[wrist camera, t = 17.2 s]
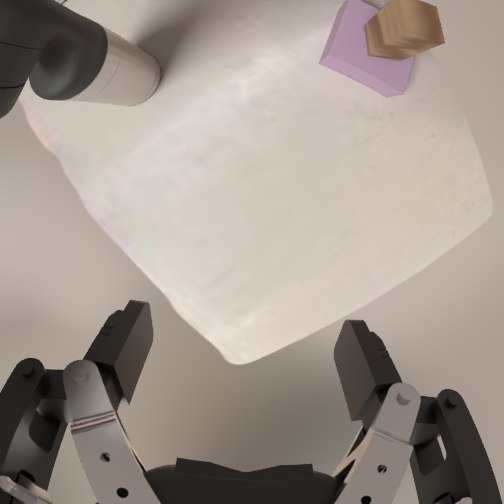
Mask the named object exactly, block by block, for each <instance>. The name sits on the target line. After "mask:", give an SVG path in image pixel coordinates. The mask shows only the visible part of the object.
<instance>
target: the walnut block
mask: <svg viewBox="0 0 504 504" xmlns="http://www.w3.org/2000/svg"><path fill="white" fill-rule="evenodd" d="M364 31H365V37H366V44H367V52H368V56H373V57H379V58H385V59H390V60H395V61H402V60H404V59H406V58H409V57H411V56H413V55H416V54H418V53H420V52H423V51H425V50H428V49H430V48H433V47H436V46H438V45H441V44H443V43H445V41H444V36H443V32H442V27H441V23H440V19H439V15H438V11H437V8H436V6H433V5H430V4H428V3H425V2H422V1H419V0H391V1H389V2H388V3H387V4H386V5H385V6H384V7H383V8H382V9H381V10H380V11H379V12H378V13H377V14H376V15H375V16H374V17H373V18H371V19H370V20H369V21H368V22H367V23H366V24H365V25H364Z"/></svg>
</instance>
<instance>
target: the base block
mask: <svg viewBox="0 0 504 504" xmlns="http://www.w3.org/2000/svg"><path fill="white" fill-rule="evenodd" d="M379 11H380V10H378V9H376V8H375V7H373V6H371V5H369V4H367V3H365V2H363V1H361V0H346V1H345V3H344V4H343V5H342V6H341V8H340V9H339V11H338V14H337V17H336V19H335V22H334V25H333V27H332V30H331V33H330V35H329V38H328V41H327V43H326V46H325V49H324V51H323V54H322V57H321V59H320V62H319V64H321V65H323V66H325V67H328V68H330V69H332V70H334V71H337V72H339V73H341V74H343V75H345V76H347V77H349V78H351V79H353V80H355V81H357V82H359V83H361V84H363V85H365V86H367V87H369V88H371V89H373V90H375V91H376V92H378V93H380V94H382V95H383V96H385V97H391V96H397V95H403V94H404V92H405V89H406V85H407V82H408V79H409V75H410V72H411V68H412V65H413V61H414V57H415V55H413V56H411V57H409V58H406V59H404V60H402V61H395V60H390V59H385V58H379V57H373V56H368V52H367V44H366V37H365V31H364V25H365V24H366V23H367V22H368V21H369V20H370V19H371V18H373V17H374V16H375V15H376V14H377V13H378V12H379Z"/></svg>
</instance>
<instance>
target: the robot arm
mask: <svg viewBox="0 0 504 504" xmlns="http://www.w3.org/2000/svg"><path fill="white" fill-rule="evenodd" d="M28 77H29V81H30V85H31V87H32V89H33V91H34V92H35V93H36V94H37V95H38V96H39V97H41V98H43V99H47V100H64V101H83V102H95V103H105V104H113V105H122V106H135V105H138V104H141V103H142V102H144V101H146V100H147V99H148V98H149V97H151V95H152V94H153V93H154V92H155V90H156V89H157V87H158V84H159V82H160V77H161V70H160V66H159V64H158V62H157V61H156V59H154V58H153V57H152V56H151V55H149V54H148V53H146V52H145V51H143V50H142V49H140V48H138V47H137V46H135V45H134V44H132V43H131V42H129V41H127V40H126V39H124V38H122V37H121V36H119V35H117V34H116V33H114V32H112V31H110V30H108V29H107V28H105V27H103V26H101V25H100V24H98V23H96V22H94V21H92V20H90V19H88V18H86V17H84V16H81V15H79V14H77V13H75V12H73V11H72V10H70V9H68V8H66V7H65V6H63V5H61V4H59V3H58V2H56V1H54V0H0V118H2V117H3V116H5V115H6V114H8V113H9V111H10V110H11V109H12V108H13V106H14V104H15V103H16V101H17V99H18V97H19V95H20V93H21V91H22V89H23V87H24V85H25V83H26V81H27V79H28ZM152 342H153V326H152V319H151V311H150V305H149V303H148V302H142V301H136V300H130V301H129V303H128V304H127V306H126V308H125V309H124V311H121V310H117V311H116V312H115V313H113V314H112V315H110V316H109V317H108V319H107V320H106V322H105V324H104V326H103V327H102V328H101V330H100V332H99V334H98V335H97V336H96V338H95V340H94V341H93V343H92V345H91V347H90V348H89V350H88V352H87V353H86V355H85V357H84V358H83V360H77V361H74V362H72V363H70V364H69V365H68V366H67V367H66V368H65V369H64V370H50V369H45V368H44V366H43V364H42V363H41V362H40V361H39V360H38V359H35V358H27V359H24V360H22V361H21V362H19V363H18V364H17V365H16V367H15V368H14V370H13V372H12V373H11V375H10V377H9V379H8V380H7V382H6V384H5V385H4V387H3V389H2V391H1V393H0V504H53V501H52V499H51V497H50V495H49V494H48V493H47V489H48V485H49V481H50V478H51V474H52V471H53V467H54V464H55V461H56V457H57V454H58V451H59V448H60V445H61V442H62V439H63V436H64V433H65V431H66V428H67V425H68V423H73V425H71V433H72V436H73V440H74V443H75V446H76V449H77V451H78V455H79V458H80V460H81V463H82V465H83V468H84V471H85V473H86V476H87V478H88V481H89V483H90V485H91V487H92V490H93V492H94V494H95V496H96V499H97V501H98V503H96V504H391V503H392V501H393V498H394V496H395V494H396V492H397V489H398V487H399V485H400V483H401V480H402V477H403V475H404V473H405V470H406V467H407V465H408V462H409V461H410V465H411V469H412V473H413V477H414V481H415V486H416V490H417V495H418V500H419V504H502V500H501V497H500V493H499V489H498V486H497V482H496V479H495V476H494V473H493V470H492V467H491V464H490V461H489V458H488V456H487V453H486V450H485V448H484V445H483V443H482V440H481V438H480V436H479V433H478V431H477V428H476V426H475V424H474V421H473V419H472V417H471V415H470V413H469V410H468V408H467V406H466V404H465V402H464V400H463V398H462V397H461V395H460V394H459V393H458V392H456V391H454V390H451V389H445V390H442V391H441V392H440V393H439V394H438V396H437V397H436V398H434V397H426V396H420V395H419V393H418V391H417V390H416V389H415V388H414V387H413V386H411V385H409V384H406V383H403V382H402V380H401V378H400V376H399V374H398V372H397V370H396V368H395V366H394V364H393V361H392V359H391V358H390V357H389V353H388V351H387V350H386V347H385V345H384V343H383V341H382V340H381V339H380V338H379V337H378V336H377V335H376V334H375V333H374V332H370V331H369V329H368V327H367V325H366V323H365V322H364V320H346V321H345V322H344V324H343V327H342V329H341V332H340V335H339V337H338V340H337V342H336V345H335V348H334V360H335V364H336V367H337V371H338V374H339V377H340V381H341V384H342V388H343V391H344V395H345V398H346V402H347V405H348V409H349V413H350V417H351V420H352V421H356V420H362V422H363V425H362V426H361V428H360V430H359V432H358V433H357V435H356V437H355V439H354V441H353V443H352V444H351V446H350V448H349V450H348V451H347V453H346V455H345V457H344V458H343V460H342V462H341V463H340V464H339V466H338V467H337V468H336V469H335V471H334V472H333V473H332V475H331V476H330V475H327V474H324V473H321V472H317V471H313V467H312V464H301V465H280V466H276V467H271V468H267V469H262V470H257V471H252V472H241V471H238V470H234V469H230V468H227V467H224V466H220V465H217V464H214V463H211V462H203V461H195V460H189V459H182V458H177V462H176V465H166V466H161V467H157V468H154V469H151V470H149V471H147V470H146V468H145V466H144V465H143V463H142V461H141V459H140V457H139V456H138V454H137V452H136V451H135V448H134V447H133V445H132V443H131V441H130V438H129V436H128V434H127V432H126V430H125V428H124V426H123V423H122V421H121V419H120V417H119V415H118V412H117V410H118V407H119V404H120V403H121V404H125V405H129V404H130V401H131V398H132V395H133V393H134V390H135V387H136V384H137V382H138V379H139V376H140V374H141V371H142V369H143V366H144V363H145V361H146V358H147V356H148V353H149V350H150V348H151V345H152ZM440 435H441V438H442V441H443V444H444V447H445V449H446V459H445V461H444V458H443V455H442V451H441V448H440V445H439V442H438V439H437V438H438V437H439V436H440Z"/></svg>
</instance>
